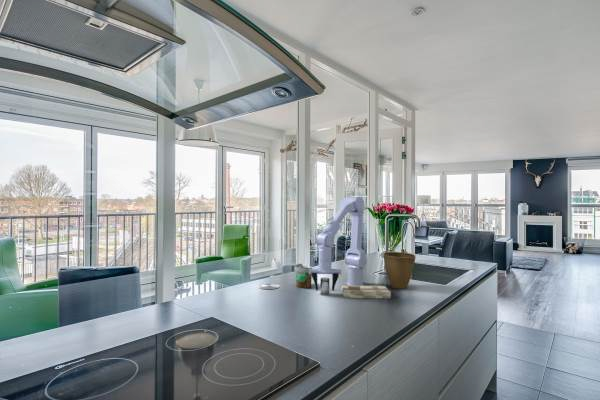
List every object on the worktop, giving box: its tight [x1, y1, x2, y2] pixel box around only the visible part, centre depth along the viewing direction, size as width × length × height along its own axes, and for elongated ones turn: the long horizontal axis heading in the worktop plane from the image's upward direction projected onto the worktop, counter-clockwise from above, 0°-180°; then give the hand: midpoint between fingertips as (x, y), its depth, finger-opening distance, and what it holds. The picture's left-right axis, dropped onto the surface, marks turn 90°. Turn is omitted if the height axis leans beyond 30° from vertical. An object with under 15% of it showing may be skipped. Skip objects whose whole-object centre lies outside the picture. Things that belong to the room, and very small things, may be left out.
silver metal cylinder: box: [319, 276, 330, 296], centre depth 142 cm, size 4×4×7 cm
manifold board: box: [341, 284, 392, 299], centre depth 142 cm, size 11×20×2 cm, turn 89°
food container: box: [293, 263, 313, 290], centre depth 154 cm, size 12×6×10 cm, turn 25°
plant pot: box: [383, 251, 416, 290], centre depth 154 cm, size 15×15×16 cm
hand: (324, 290), depth 142 cm, fingers open, 7 cm apart
